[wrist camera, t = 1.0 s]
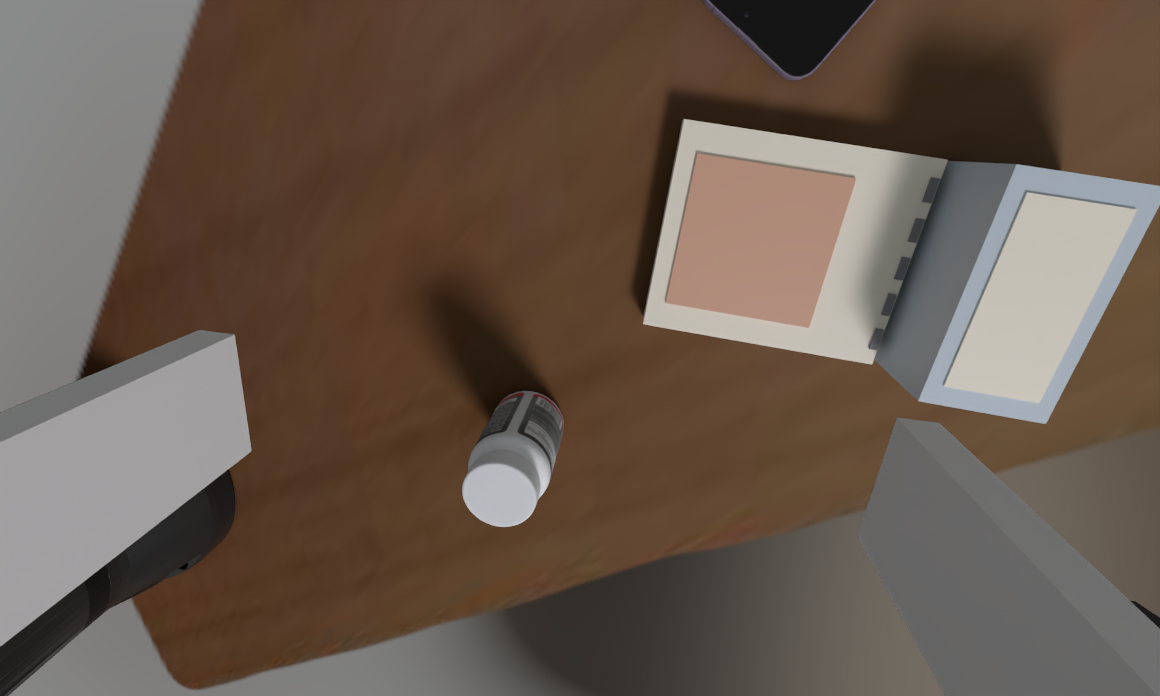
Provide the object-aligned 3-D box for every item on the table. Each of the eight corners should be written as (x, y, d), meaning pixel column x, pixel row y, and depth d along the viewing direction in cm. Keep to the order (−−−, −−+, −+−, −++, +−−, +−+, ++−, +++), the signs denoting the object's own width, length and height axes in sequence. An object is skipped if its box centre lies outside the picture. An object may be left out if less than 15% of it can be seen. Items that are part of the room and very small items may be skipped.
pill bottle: (495, 448, 37) (454, 528, 29) (494, 385, 36) (452, 452, 28) (563, 455, 37) (541, 539, 29) (566, 392, 35) (543, 462, 27)
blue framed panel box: (872, 358, 32) (919, 402, 26) (946, 160, 28) (1018, 164, 22) (978, 377, 31) (1047, 425, 26) (1067, 179, 27) (1170, 187, 22)
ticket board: (643, 316, 33) (643, 324, 31) (682, 120, 29) (684, 118, 27) (862, 355, 32) (872, 365, 30) (933, 159, 28) (949, 159, 26)
